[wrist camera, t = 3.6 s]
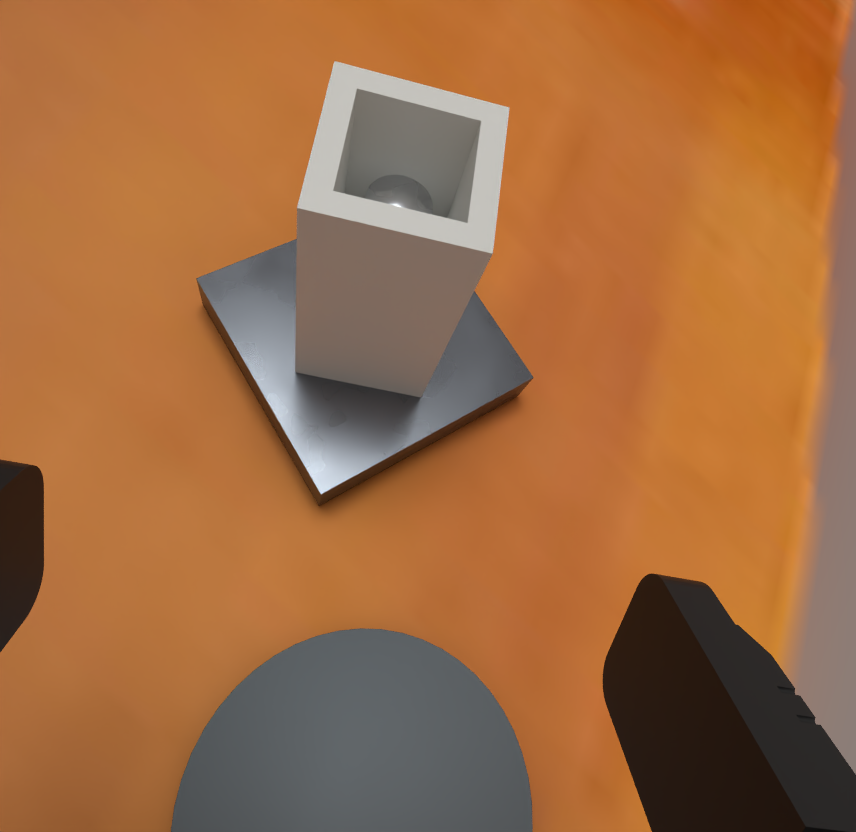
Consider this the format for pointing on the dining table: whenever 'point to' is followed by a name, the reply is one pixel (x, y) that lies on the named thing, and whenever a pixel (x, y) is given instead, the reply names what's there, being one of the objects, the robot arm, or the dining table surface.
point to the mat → (357, 745)
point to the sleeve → (392, 228)
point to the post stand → (344, 402)
